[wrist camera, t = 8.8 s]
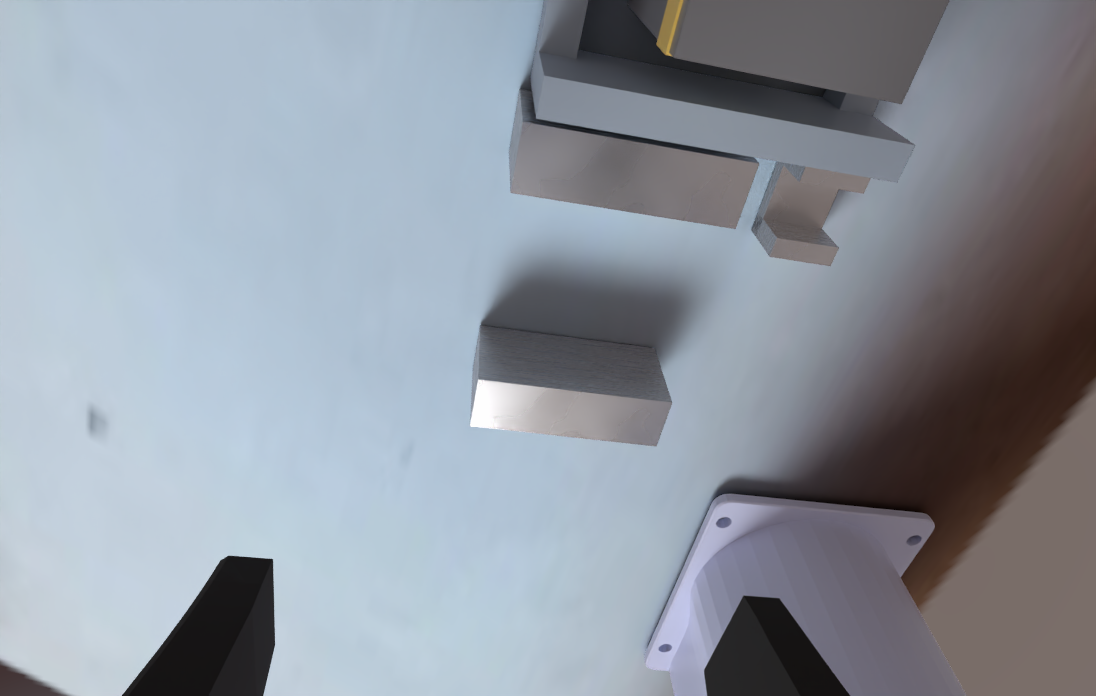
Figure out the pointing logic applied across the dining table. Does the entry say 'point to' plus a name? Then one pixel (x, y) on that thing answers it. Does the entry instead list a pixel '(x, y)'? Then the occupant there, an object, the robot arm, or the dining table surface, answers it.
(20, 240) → the dining table surface
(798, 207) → the clip
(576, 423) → the brushed metal block
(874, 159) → the holder
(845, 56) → the block
